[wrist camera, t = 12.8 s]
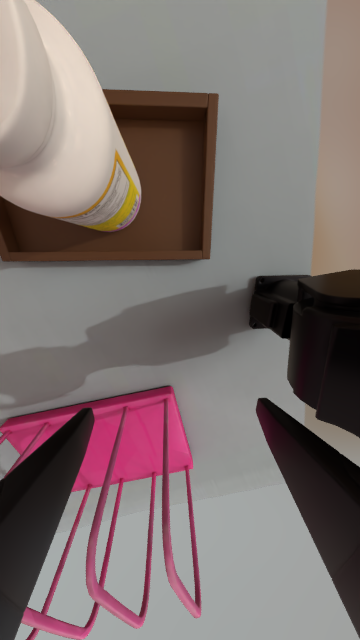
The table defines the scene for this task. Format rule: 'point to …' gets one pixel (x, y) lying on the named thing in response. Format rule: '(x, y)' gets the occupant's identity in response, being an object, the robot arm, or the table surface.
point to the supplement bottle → (59, 127)
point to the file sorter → (117, 467)
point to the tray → (156, 188)
